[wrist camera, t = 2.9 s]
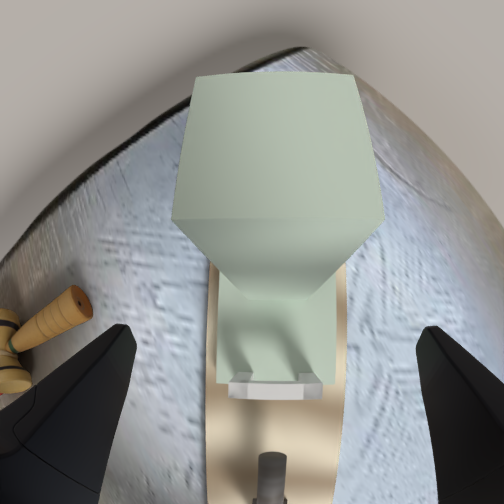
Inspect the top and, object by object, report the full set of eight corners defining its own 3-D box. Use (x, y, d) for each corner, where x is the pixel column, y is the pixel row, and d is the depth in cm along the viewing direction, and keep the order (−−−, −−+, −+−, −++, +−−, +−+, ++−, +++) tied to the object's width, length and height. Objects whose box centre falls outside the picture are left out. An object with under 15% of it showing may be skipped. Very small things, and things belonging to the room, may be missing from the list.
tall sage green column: (331, 380, 16) (454, 489, 3) (220, 379, 17) (84, 483, 3) (331, 249, 19) (424, 87, 5) (224, 249, 19) (124, 90, 6)
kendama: (81, 261, 23) (-24, 339, 19) (46, 248, 17) (-60, 342, 13) (118, 339, 22) (4, 403, 19) (90, 348, 16) (-29, 417, 12)
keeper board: (327, 514, 15) (337, 555, 9) (210, 511, 15) (193, 551, 10) (341, 250, 20) (362, 222, 14) (213, 250, 21) (192, 222, 15)
